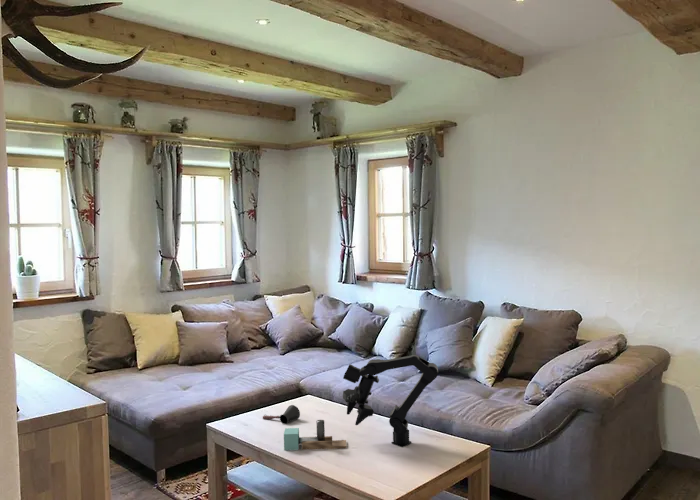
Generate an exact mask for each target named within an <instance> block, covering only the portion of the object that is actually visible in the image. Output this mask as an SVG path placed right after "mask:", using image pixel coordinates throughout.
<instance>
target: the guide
mask: <svg viewBox="0 0 700 500" xmlns="http://www.w3.org/2000/svg"><path fill="white" fill-rule="evenodd" d="M332 449H333V450H334V449H335V450H336V449H337V450H339V449H347V440H346V439H341V440H340V439H338V440H337V439H335V440H334V439H333V436H332V435H330V436H326V435H325V441H305V442H302V444H301V451H305V450H332Z"/></svg>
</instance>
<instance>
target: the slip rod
mask: <svg viewBox="0 0 700 500" xmlns="http://www.w3.org/2000/svg"><path fill="white" fill-rule="evenodd" d="M325 432H326V431H325V420H324V419H317V420H316V436H302V437H300V436H299V437H298V444H299V445H302V442H305V441H325V436H326V435H325Z"/></svg>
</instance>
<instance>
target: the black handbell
mask: <svg viewBox="0 0 700 500" xmlns="http://www.w3.org/2000/svg"><path fill="white" fill-rule="evenodd" d="M300 416H301V411H300V409H299V408H298V407H297V406H296V405H294V404H291V405H289V406H288V407H287V408H286V409H285V412H284V413H283V414H279V415H267V414H263V416H262V419H263V420H273V419H279V420H280V422H281V424H284V425H287V424H288V423H289V422H292V421H296V420H298V419H299V418H300Z"/></svg>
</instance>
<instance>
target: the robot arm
mask: <svg viewBox="0 0 700 500" xmlns="http://www.w3.org/2000/svg"><path fill="white" fill-rule="evenodd" d="M411 366H414V367H415V368H416V369H417V370H418V371H419V372H421V374H420V378H419V379H418V381H417V382H416V384H414V386H413V387H412V389H411V391H410V392H409V393H408V395H407V396H406V398H405V399H404V401H402V403H400V405H399V406H398V405H395V406H394V408H393V409H392V410H391V411H390V413H389V421H388V423H389V426H391V428H393V429H392V430H393V431H392V441H391V444H392V445H395V446H398V447H401V448H404V447H406V446H408V445H410V444H412V441H410V430H409V429H408V427H409V421H408V420H407V419H406V418H407V414H408V413H409V411H410V409H411V408H412V406H413V405H414V404H415V402H416V401H417V400H418V398H419V397H420V395H421V394H422V393H423V391H424V390H425V388H426V387H427V386H429V384H432V382H433V381H434V380H436V378H437V377H438V375H439V367H438V366H437V364H436V363H434V362H430V361H428V360H426V359H424V358H422V357H420V356H419V355H418V354H412V355H407V356H402V357H396V358H390V359H381V358H380V359H376V358H375V359H374V358H373V359H370V360H369V361H368V362H367V363H366V365H364V366H362V367H361V368H359V367H357V366H354V365H353V364H350V363H349V365H348V367H347V369H346V371H345V373H344V375H343V380H345V381H348V382H350V383H353V384H357V383H358V382H359V384H358V385H356V386H355V387H354V388H353V389H351V388H347V389H346V390H343V392H342V399H343V400H344V402H345V403H346V404H347V406H346V415H350V414H351V413H352V412H353V410H354V409H355V406H356V405H357V404H358V407H357V410H356V413H357V416H356V420H355V423H354V424H355V426H359V425H360V424H361V423H362V422H363V421H364V420H366V419H367V418H369V417H373V415H374V413H375V410H374V409H373V407H372V406H371V405H368V404H369V401H368V398H369V396H372V392H371V390H372V388H373V385H374V383H377V384H378V383H379V382H380V379H379V377H378V375H379V374H381V373H384V372H385V371H388V370H394V369H400V368H406V367H411Z"/></svg>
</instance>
